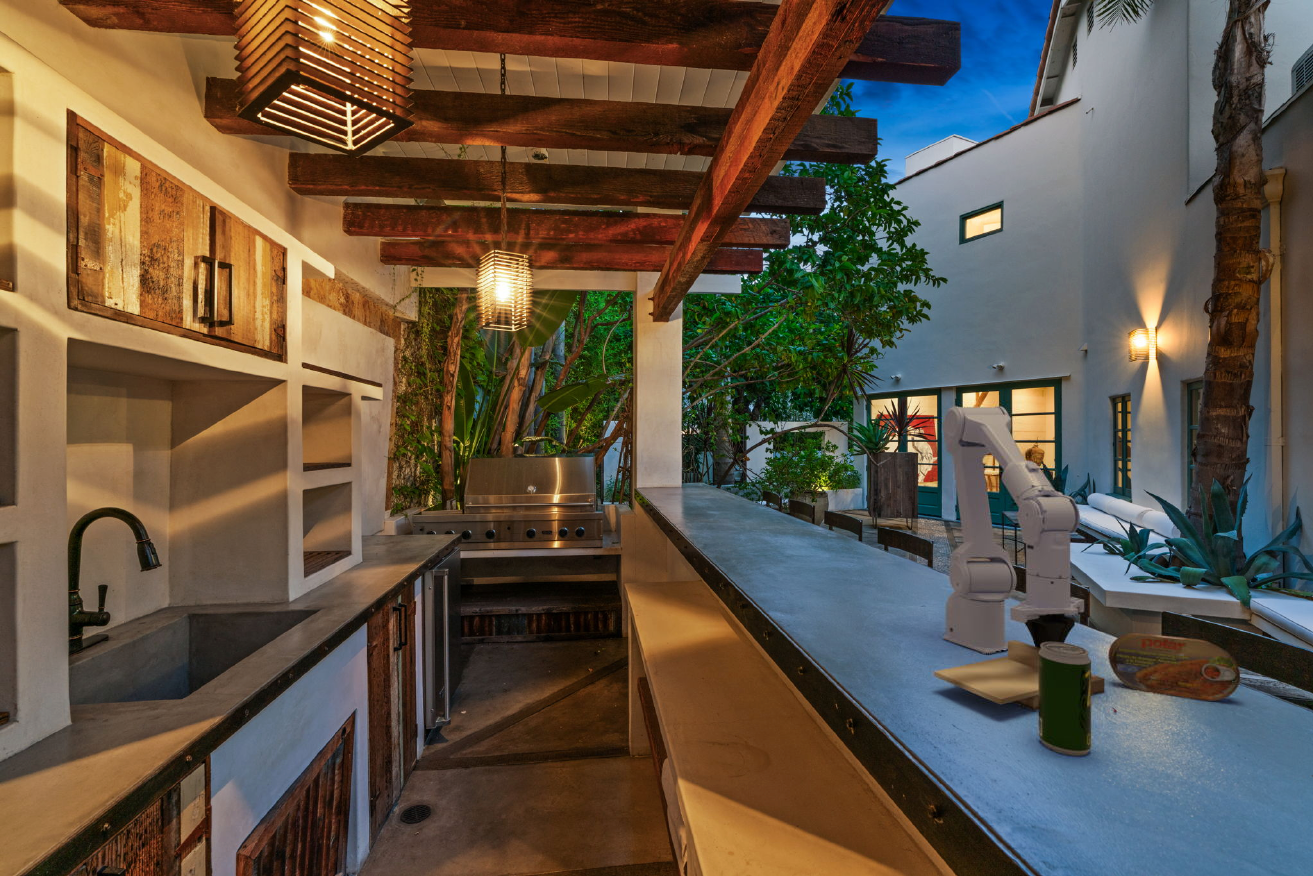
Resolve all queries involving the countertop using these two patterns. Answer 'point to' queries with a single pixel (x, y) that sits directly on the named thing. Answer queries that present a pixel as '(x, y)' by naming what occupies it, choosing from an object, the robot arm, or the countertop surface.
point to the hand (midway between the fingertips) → (1048, 663)
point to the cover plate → (999, 675)
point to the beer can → (1064, 698)
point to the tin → (1174, 666)
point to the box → (1033, 701)
